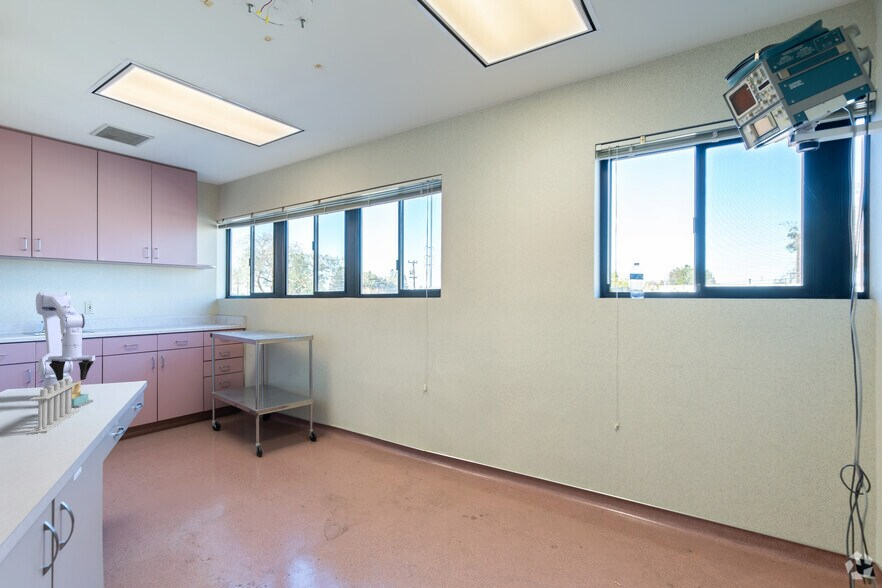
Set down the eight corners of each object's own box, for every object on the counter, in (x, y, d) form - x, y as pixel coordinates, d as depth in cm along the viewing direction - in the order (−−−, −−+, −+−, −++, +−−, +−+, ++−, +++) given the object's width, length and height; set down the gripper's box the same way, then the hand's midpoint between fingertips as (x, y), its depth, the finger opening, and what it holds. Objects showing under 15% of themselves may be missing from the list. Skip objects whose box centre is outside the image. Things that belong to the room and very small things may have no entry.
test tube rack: (46, 433, 127) (47, 391, 127) (28, 435, 125) (28, 392, 125) (79, 412, 149) (79, 376, 150) (63, 413, 148) (64, 377, 148)
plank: (73, 401, 160) (74, 381, 160) (80, 401, 160) (80, 381, 160) (65, 404, 155) (65, 384, 155) (72, 404, 156) (72, 383, 156)
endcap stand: (66, 402, 161) (66, 394, 161) (93, 401, 163) (93, 393, 163) (50, 409, 152) (50, 400, 152) (78, 407, 154) (78, 399, 154)
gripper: (42, 346, 152) (41, 382, 152) (87, 346, 155) (87, 381, 155) (55, 344, 159) (55, 378, 159) (98, 343, 162) (98, 377, 162)
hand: (71, 379), depth 158 cm, fingers open, 7 cm apart
